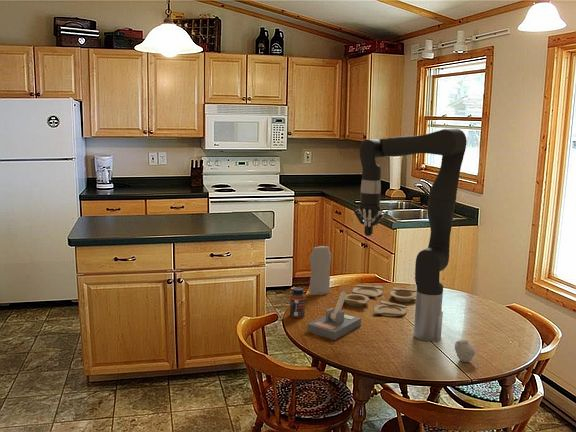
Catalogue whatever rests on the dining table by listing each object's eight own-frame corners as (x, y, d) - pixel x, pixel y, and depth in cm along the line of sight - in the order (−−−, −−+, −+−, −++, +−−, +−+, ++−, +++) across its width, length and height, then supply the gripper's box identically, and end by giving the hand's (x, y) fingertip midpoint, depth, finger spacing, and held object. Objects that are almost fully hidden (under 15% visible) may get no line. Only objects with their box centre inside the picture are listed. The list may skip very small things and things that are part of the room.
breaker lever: (339, 322, 207) (352, 288, 211) (336, 320, 205) (349, 286, 209) (330, 319, 209) (343, 286, 213) (327, 317, 208) (340, 283, 212)
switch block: (360, 325, 212) (361, 308, 210) (334, 340, 198) (335, 321, 196) (334, 318, 219) (335, 301, 218) (307, 331, 205) (307, 313, 204)
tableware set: (359, 286, 262) (359, 278, 261) (421, 296, 249) (421, 287, 249) (332, 309, 231) (332, 299, 230) (401, 321, 218) (402, 311, 217)
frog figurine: (462, 355, 188) (464, 335, 186) (478, 363, 182) (480, 343, 180) (449, 358, 185) (450, 338, 183) (465, 367, 179) (466, 346, 177)
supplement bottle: (298, 319, 216) (299, 292, 214) (286, 316, 220) (287, 288, 218) (307, 315, 221) (308, 288, 219) (295, 312, 225) (296, 285, 223)
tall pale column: (328, 291, 252) (329, 244, 248) (332, 293, 249) (333, 246, 245) (306, 293, 248) (308, 245, 244) (310, 296, 245) (312, 247, 241)
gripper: (350, 190, 214) (348, 234, 217) (381, 194, 206) (378, 239, 209) (360, 188, 220) (358, 231, 223) (390, 192, 212) (388, 236, 215)
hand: (368, 235), depth 216 cm, fingers closed
